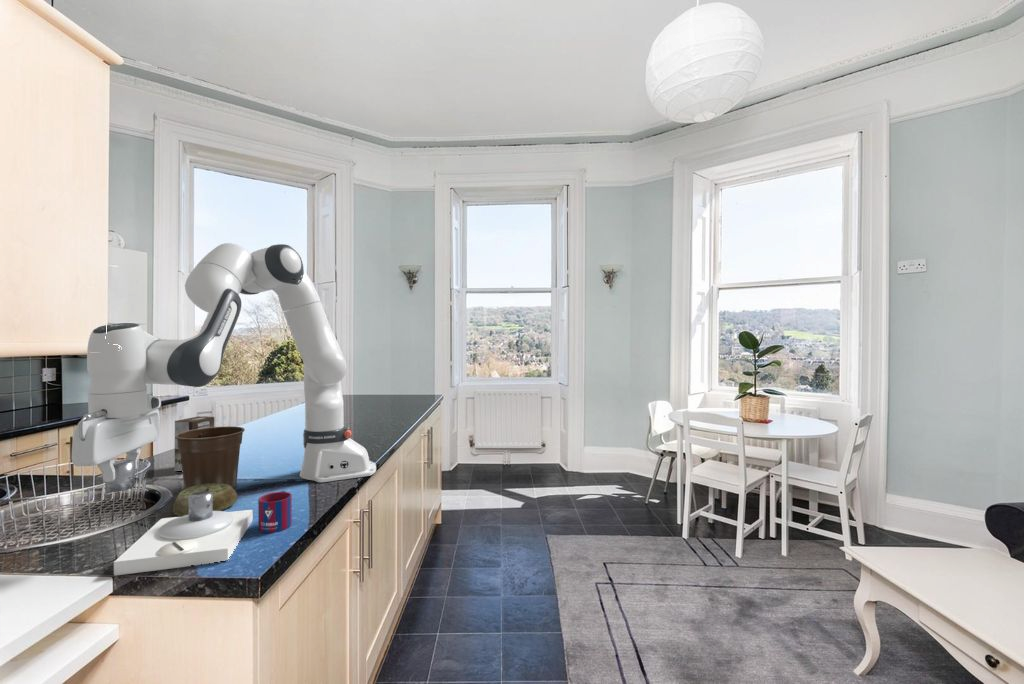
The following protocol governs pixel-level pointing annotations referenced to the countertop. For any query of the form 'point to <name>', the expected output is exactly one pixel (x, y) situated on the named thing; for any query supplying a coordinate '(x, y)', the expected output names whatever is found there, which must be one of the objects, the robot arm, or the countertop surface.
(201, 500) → the spacer
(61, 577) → the countertop surface
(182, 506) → the olive green round disc
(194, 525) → the scale
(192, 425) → the coffee box
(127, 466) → the spacer
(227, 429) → the plant pot
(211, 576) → the countertop surface
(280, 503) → the mug
